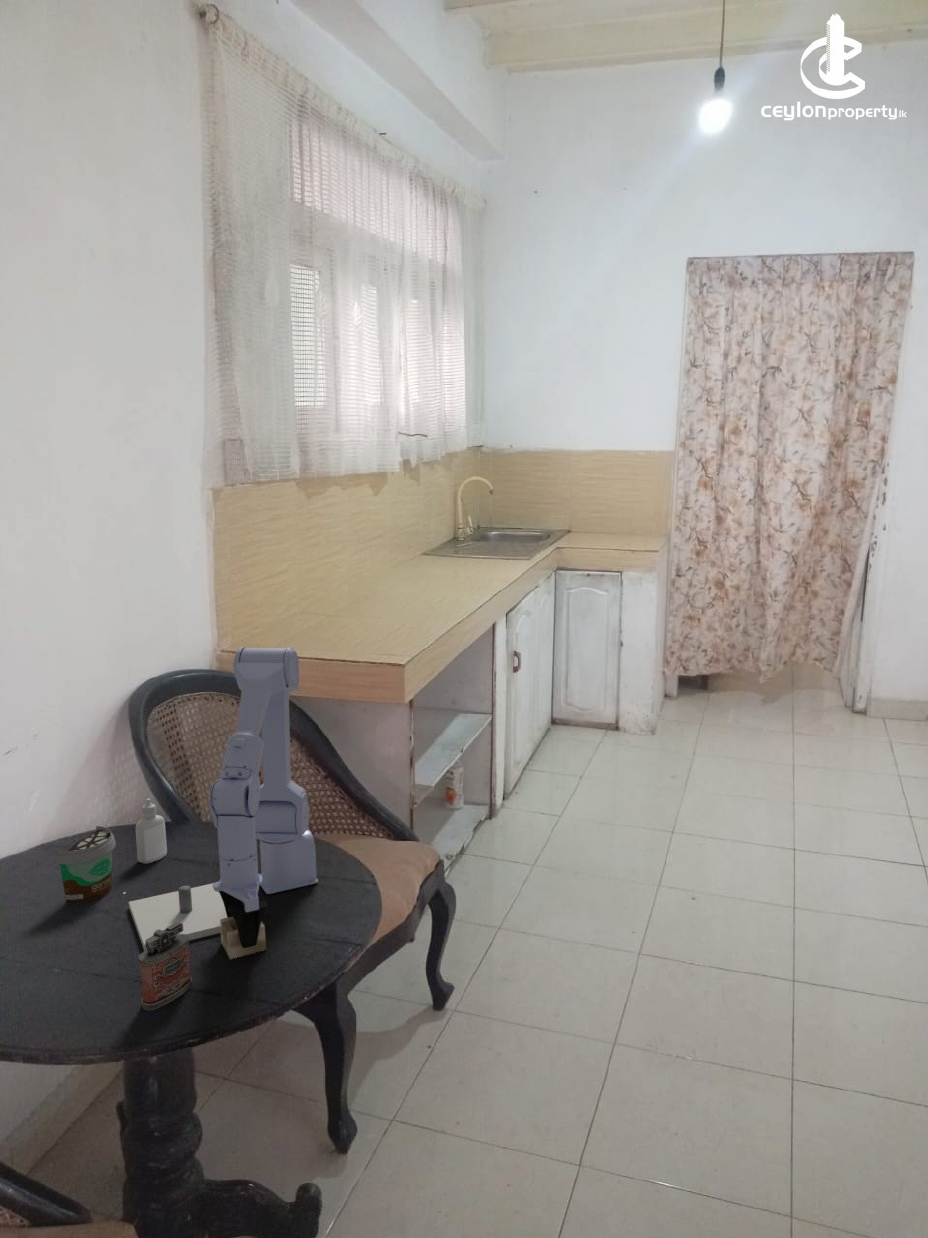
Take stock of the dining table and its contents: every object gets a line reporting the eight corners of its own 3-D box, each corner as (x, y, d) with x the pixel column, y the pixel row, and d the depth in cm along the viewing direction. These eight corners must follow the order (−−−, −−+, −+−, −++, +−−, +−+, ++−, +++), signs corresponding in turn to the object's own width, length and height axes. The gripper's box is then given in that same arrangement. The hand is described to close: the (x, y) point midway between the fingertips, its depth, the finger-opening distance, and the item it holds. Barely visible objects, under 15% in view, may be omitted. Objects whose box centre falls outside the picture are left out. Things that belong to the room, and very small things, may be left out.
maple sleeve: (256, 934, 149) (255, 911, 148) (265, 950, 144) (264, 926, 143) (221, 943, 147) (219, 919, 146) (230, 959, 142) (228, 935, 141)
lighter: (152, 1013, 128) (147, 946, 126) (136, 1005, 130) (131, 940, 128) (197, 985, 135) (193, 921, 133) (181, 978, 137) (177, 915, 135)
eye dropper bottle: (170, 859, 177) (165, 800, 175) (139, 866, 175) (134, 805, 173) (165, 851, 181) (161, 793, 179) (135, 857, 179) (130, 798, 176)
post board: (223, 887, 165) (221, 860, 165) (246, 926, 152) (244, 897, 151) (129, 908, 158) (126, 880, 157) (144, 951, 144) (142, 920, 143)
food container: (93, 910, 158) (88, 855, 156) (61, 907, 159) (55, 852, 157) (132, 878, 170) (128, 827, 168) (102, 876, 171) (98, 824, 169)
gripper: (201, 841, 147) (206, 921, 149) (223, 877, 134) (228, 963, 137) (245, 833, 150) (249, 910, 153) (270, 866, 138) (275, 951, 140)
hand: (242, 935), depth 145 cm, fingers open, 7 cm apart
